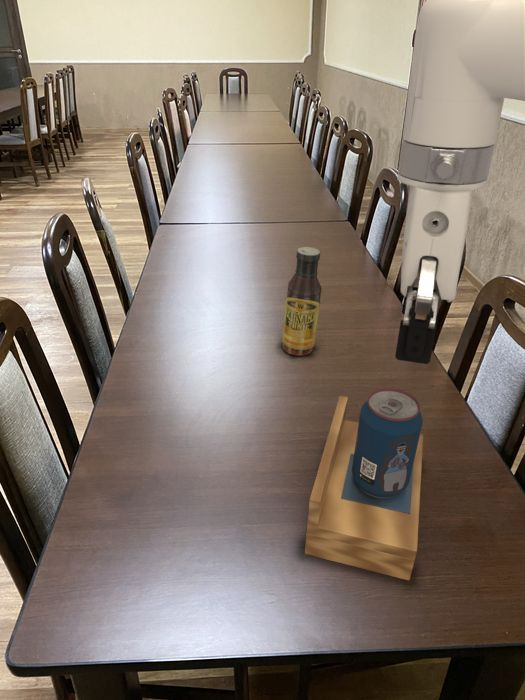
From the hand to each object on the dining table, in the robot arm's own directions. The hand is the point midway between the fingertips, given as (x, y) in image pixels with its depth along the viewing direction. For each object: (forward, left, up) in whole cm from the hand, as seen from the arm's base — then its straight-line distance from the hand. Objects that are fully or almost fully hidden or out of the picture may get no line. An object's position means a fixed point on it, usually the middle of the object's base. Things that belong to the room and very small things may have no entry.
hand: (414, 336), depth 55 cm
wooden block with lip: (+2, -1, -26) cm, 26 cm away
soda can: (+1, 0, -21) cm, 21 cm away
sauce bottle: (+19, -36, -26) cm, 48 cm away
